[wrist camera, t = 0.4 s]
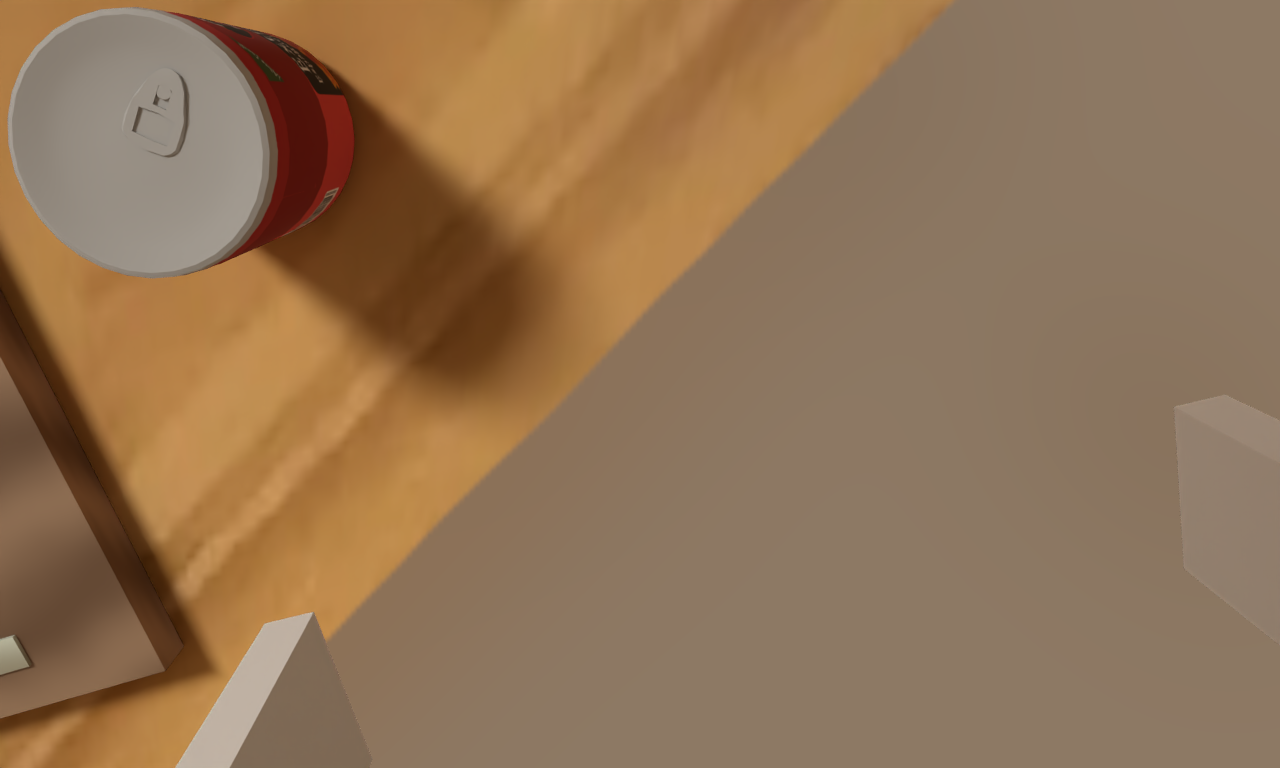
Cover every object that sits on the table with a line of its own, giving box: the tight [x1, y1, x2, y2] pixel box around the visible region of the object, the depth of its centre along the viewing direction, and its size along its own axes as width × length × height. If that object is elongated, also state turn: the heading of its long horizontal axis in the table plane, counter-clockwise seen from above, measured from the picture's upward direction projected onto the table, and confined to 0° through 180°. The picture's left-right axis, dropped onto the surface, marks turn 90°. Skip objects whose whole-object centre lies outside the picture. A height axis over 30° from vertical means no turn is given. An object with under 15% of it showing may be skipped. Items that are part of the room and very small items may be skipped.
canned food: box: [8, 7, 354, 278], centre depth 33 cm, size 8×8×11 cm
